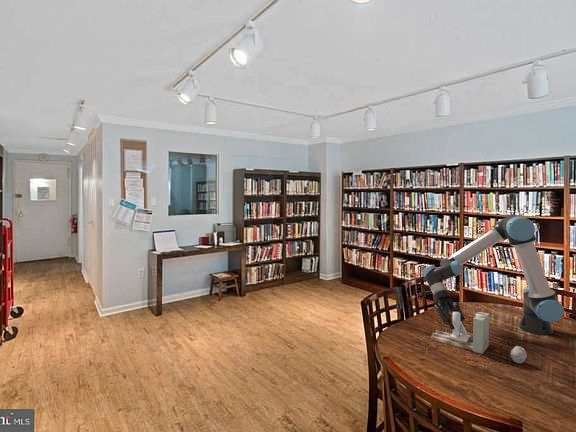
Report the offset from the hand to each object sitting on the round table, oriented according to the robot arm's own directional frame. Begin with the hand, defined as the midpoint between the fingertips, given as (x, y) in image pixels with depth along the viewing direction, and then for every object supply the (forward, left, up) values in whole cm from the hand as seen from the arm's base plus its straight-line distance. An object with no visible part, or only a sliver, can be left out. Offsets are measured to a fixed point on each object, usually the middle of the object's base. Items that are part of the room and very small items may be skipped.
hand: (461, 334), depth 170 cm
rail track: (+4, -2, -5) cm, 7 cm away
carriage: (0, -2, -3) cm, 3 cm away
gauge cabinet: (-8, -2, -5) cm, 10 cm away
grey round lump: (-24, +3, -5) cm, 25 cm away
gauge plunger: (-8, -2, -3) cm, 9 cm away
